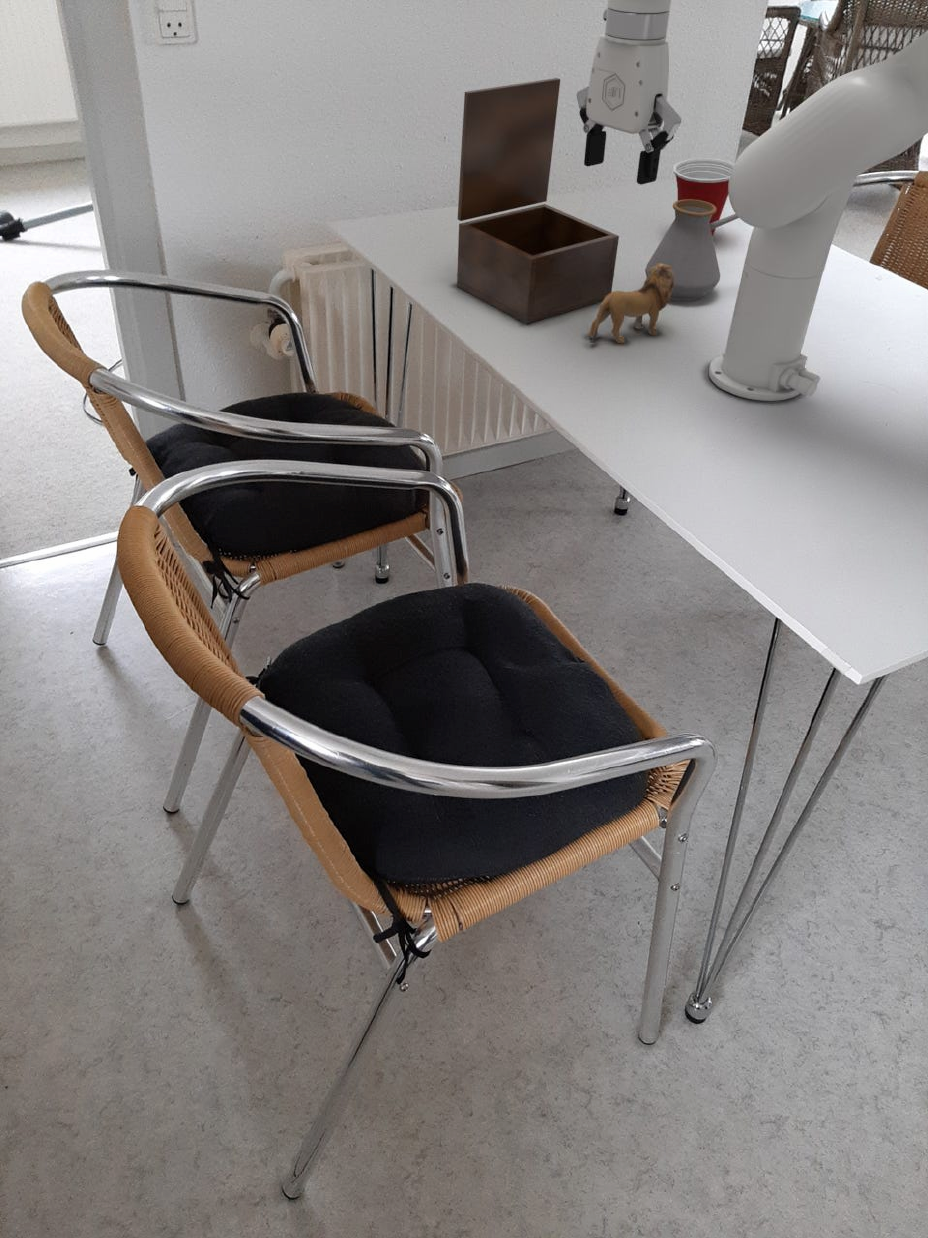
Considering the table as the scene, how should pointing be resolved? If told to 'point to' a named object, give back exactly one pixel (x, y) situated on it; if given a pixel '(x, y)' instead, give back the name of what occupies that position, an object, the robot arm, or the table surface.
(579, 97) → the robot arm
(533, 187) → the lid
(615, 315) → the lion figurine
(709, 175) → the plastic cup
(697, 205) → the coffee pot
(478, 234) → the chest
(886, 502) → the table surface
